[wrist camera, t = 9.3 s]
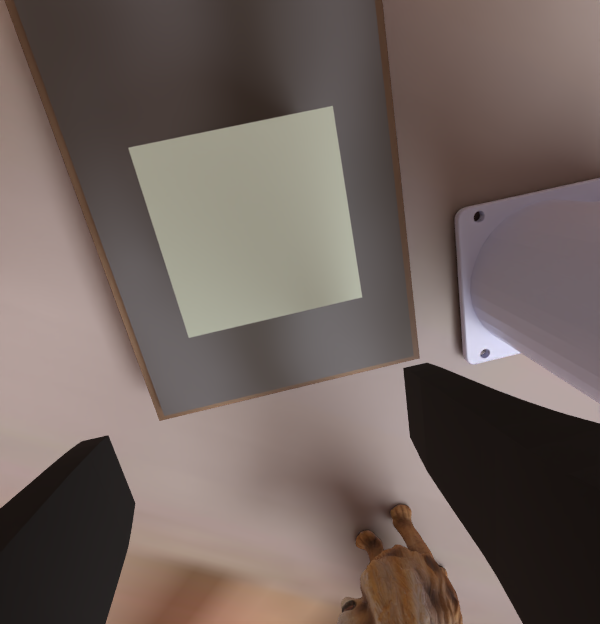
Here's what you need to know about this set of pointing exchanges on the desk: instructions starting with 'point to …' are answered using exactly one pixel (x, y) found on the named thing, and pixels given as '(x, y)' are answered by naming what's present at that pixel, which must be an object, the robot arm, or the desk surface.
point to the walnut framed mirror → (211, 116)
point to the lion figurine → (401, 582)
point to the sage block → (251, 219)
